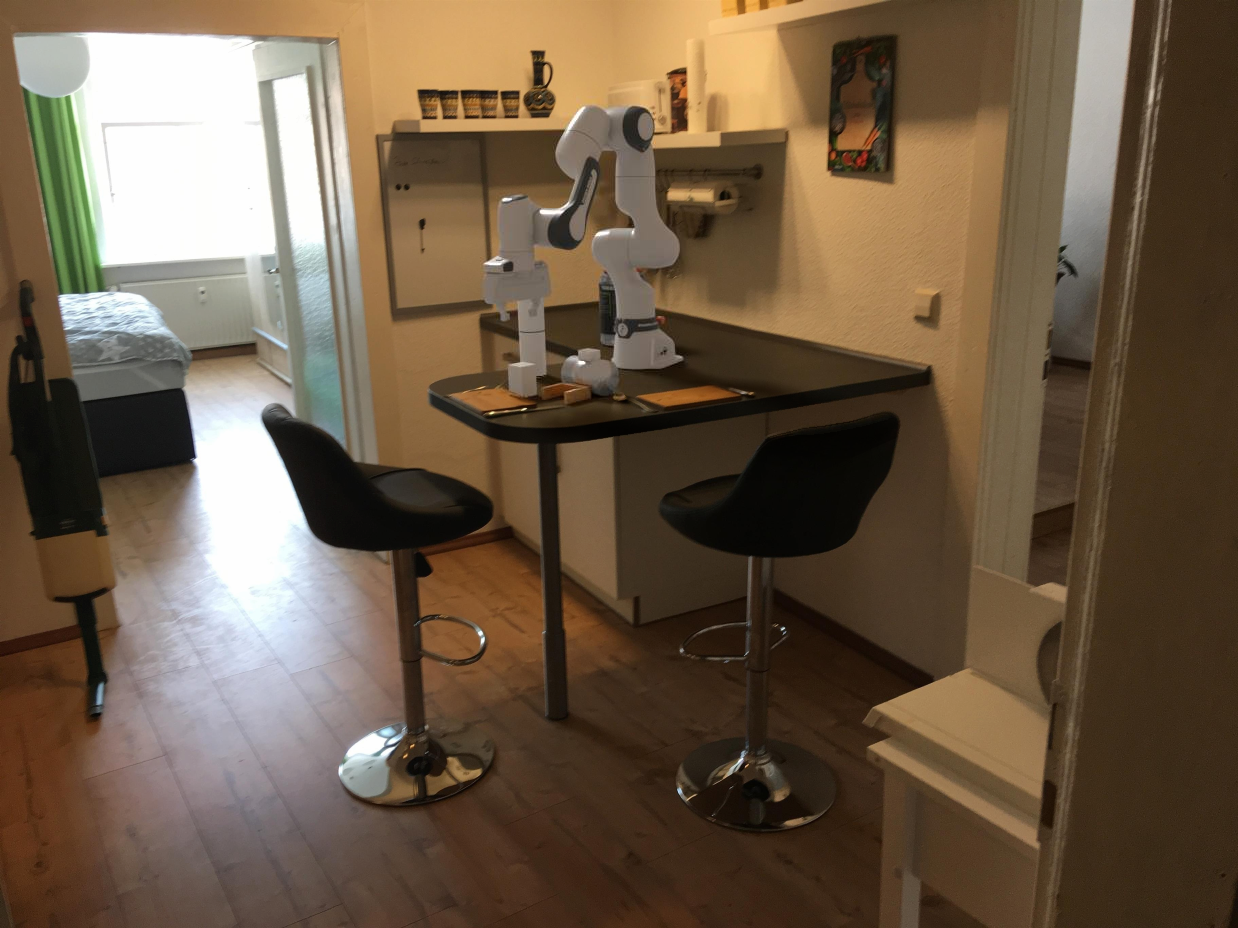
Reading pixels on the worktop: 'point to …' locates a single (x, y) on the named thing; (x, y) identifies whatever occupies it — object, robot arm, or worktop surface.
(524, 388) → the block
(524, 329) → the cylindrical container
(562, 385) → the motor mount
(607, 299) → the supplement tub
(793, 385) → the worktop surface
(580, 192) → the robot arm
